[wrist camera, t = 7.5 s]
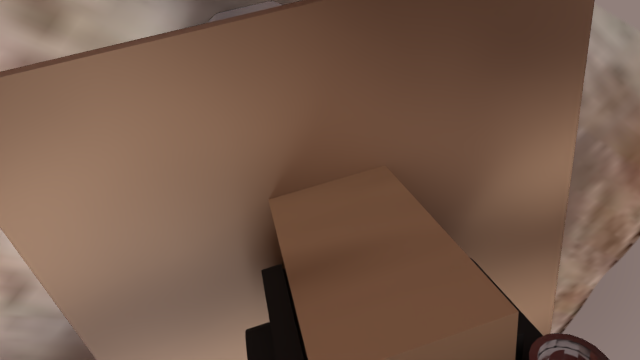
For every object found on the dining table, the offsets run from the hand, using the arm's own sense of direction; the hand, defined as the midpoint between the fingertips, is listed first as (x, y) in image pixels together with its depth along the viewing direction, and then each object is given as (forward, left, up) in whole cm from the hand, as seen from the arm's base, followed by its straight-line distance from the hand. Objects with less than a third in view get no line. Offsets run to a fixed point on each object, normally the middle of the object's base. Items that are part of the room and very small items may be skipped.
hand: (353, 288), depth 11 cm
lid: (0, 0, -2) cm, 2 cm away
